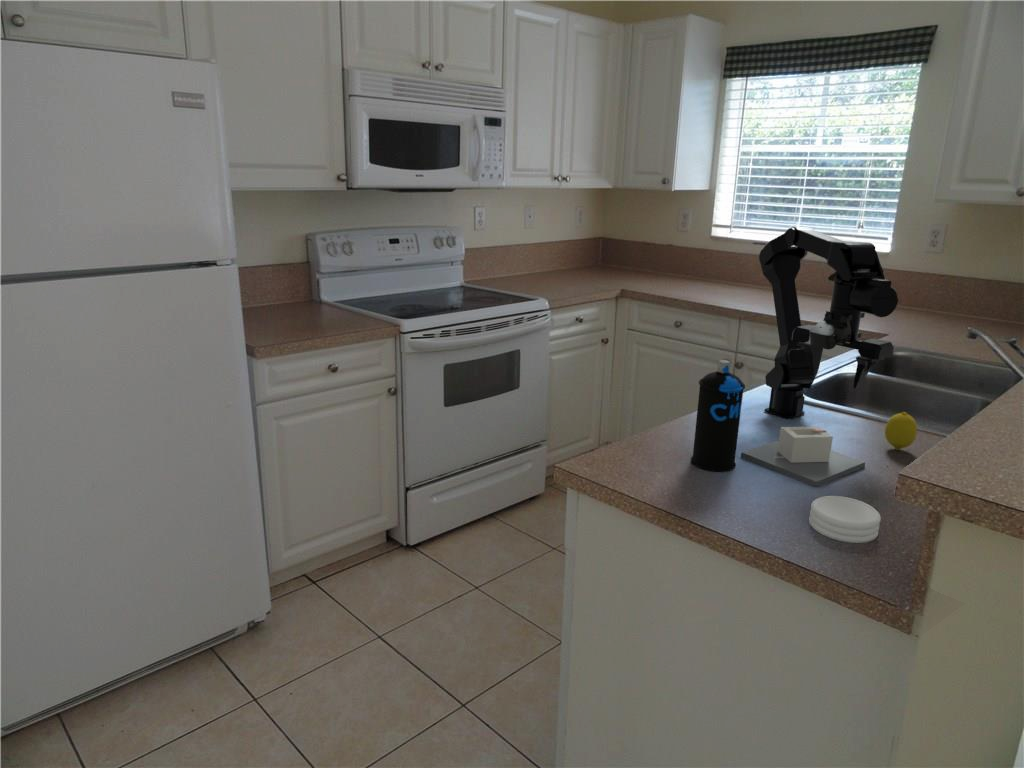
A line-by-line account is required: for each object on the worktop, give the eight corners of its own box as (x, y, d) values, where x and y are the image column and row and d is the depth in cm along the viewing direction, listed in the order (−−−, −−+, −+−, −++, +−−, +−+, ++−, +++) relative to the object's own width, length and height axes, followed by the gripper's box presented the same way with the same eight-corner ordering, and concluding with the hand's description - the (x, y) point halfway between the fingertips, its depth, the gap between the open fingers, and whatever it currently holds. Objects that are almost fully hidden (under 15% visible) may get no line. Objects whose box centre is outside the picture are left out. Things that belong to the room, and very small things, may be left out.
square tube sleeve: (777, 451, 141) (780, 426, 139) (814, 450, 142) (818, 425, 140) (790, 462, 136) (794, 436, 134) (829, 461, 137) (833, 435, 135)
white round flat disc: (843, 549, 108) (847, 528, 107) (794, 520, 117) (797, 500, 116) (892, 537, 112) (896, 517, 111) (841, 509, 121) (844, 490, 120)
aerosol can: (681, 458, 140) (691, 357, 134) (716, 452, 143) (727, 353, 137) (709, 474, 132) (720, 369, 127) (744, 468, 136) (758, 365, 130)
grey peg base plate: (740, 457, 141) (743, 437, 140) (790, 440, 150) (792, 422, 149) (815, 486, 128) (819, 466, 127) (864, 466, 137) (868, 447, 136)
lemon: (903, 444, 149) (910, 407, 147) (918, 455, 144) (926, 417, 141) (876, 444, 149) (883, 407, 146) (891, 455, 143) (898, 416, 141)
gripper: (780, 302, 146) (770, 377, 151) (870, 319, 132) (856, 401, 137) (812, 297, 153) (802, 369, 157) (901, 313, 138) (887, 391, 143)
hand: (834, 382), depth 148 cm, fingers open, 9 cm apart
